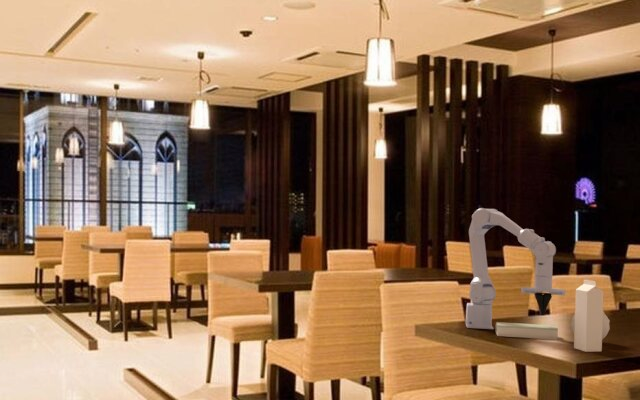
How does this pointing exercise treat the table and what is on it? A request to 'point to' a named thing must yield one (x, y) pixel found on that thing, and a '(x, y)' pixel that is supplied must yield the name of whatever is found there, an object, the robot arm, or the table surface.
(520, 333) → the cable duct
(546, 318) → the table surface
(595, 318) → the milk
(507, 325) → the duct lid
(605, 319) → the decorative ball
